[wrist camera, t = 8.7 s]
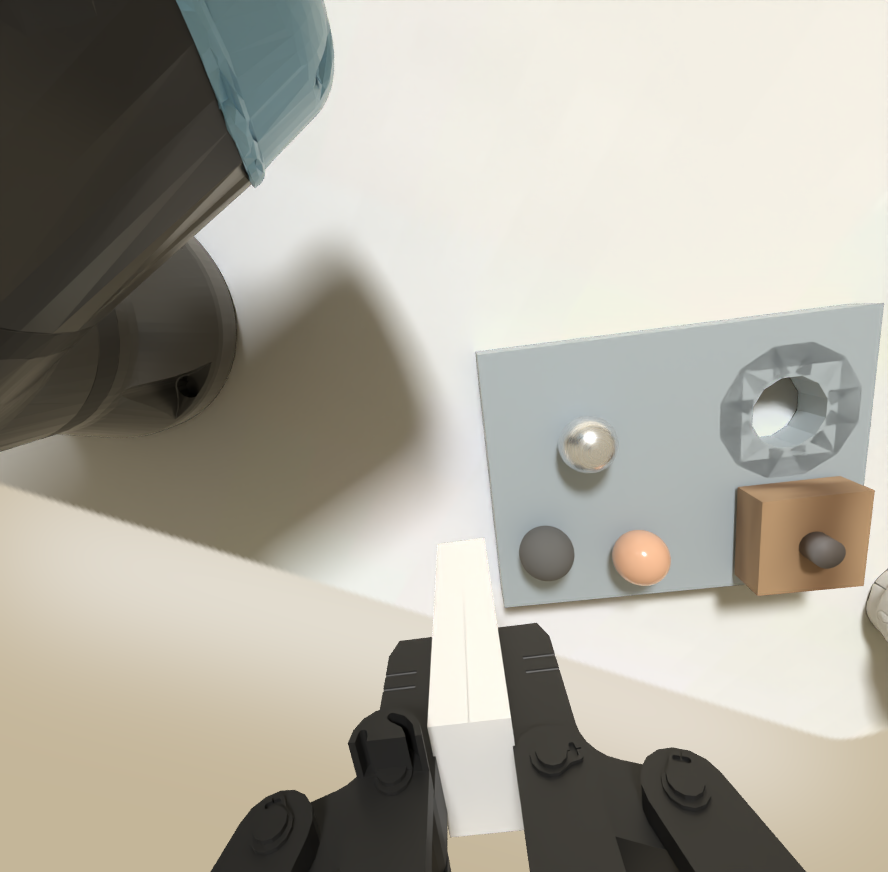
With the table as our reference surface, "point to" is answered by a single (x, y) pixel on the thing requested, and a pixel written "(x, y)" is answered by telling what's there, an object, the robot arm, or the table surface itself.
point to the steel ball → (588, 444)
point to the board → (669, 438)
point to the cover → (802, 535)
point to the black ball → (546, 553)
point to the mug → (879, 604)
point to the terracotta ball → (641, 557)
